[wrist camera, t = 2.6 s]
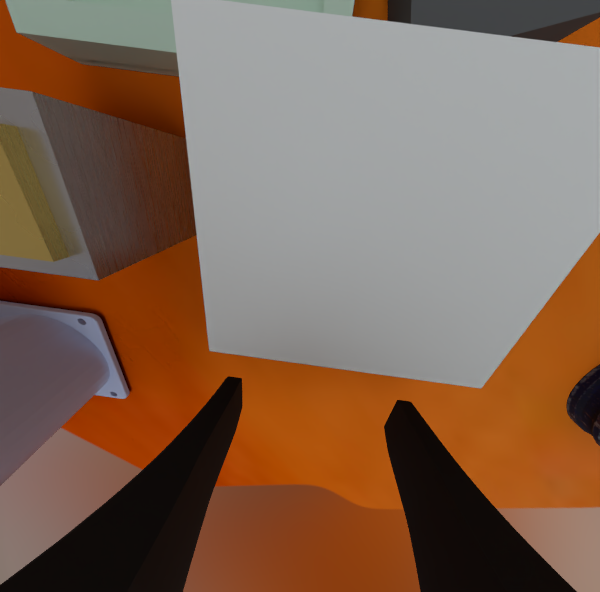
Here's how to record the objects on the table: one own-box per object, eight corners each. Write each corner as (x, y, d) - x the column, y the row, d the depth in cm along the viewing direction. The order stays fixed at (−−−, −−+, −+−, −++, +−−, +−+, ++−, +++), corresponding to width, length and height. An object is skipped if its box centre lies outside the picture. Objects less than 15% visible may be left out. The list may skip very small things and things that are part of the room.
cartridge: (124, 223, 11) (-64, 266, 6) (99, 128, 10) (-216, 54, 4) (200, 233, 11) (85, 286, 6) (190, 140, 9) (5, 83, 4)
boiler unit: (265, 265, 12) (210, 358, 6) (272, 121, 9) (170, -7, 3) (417, 286, 12) (525, 402, 6) (475, 147, 9) (834, 75, 3)
